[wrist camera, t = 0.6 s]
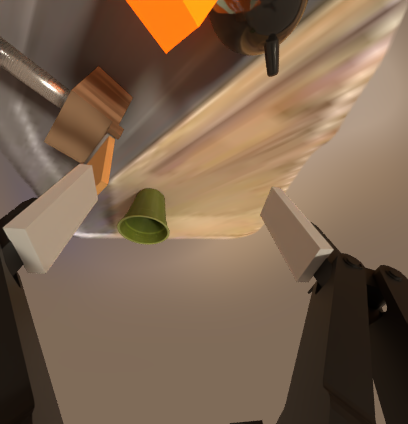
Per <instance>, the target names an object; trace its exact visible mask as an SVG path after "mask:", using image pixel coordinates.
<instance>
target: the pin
mask: <svg viewBox="0 0 408 424" xmlns="http://www.w3.org/2000/svg"><path fill="white" fill-rule="evenodd" d="M0 67H2V68H3V69H4V70H6V71H7V72H9V73H10V74H12V75H13V76H14V77H16V78H17V79H19V80H20V81H22V82H23V83H24V84H26V85H27V86H29V87H30V88H31V89H33V90H34V91H36V92H37V93H39V94H40V95H41V96H43V97H44V98H46V99H47V100H49V101H50V102H51V103H53V104H54V105H56V106H57V107H58V108H60V109H62V107H63V105H64V103H65V102H66V100H67V98H68V96H69V94H70V92H71V91H70V90H69V89H67V88H66V87H65V86H64V85H62V84H61V83H60V82H58V81H57V80H56V79H55V78H53V77H52V76H51V75H49V74H48V73H47V72H46V71H44V70H43V69H42V68H40V67H39V66H38V65H37V64H35V63H34V62H33V61H31V60H30V59H29V58H27V57H26V56H25V55H24V54H22V53H21V52H20V51H18V50H17V49H16V48H15V47H13V46H12V45H11V44H9V43H8V42H7V41H6V40H4V39H3V38H2V37H0Z"/></svg>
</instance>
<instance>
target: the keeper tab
mask: <svg viewBox="0 0 408 424" xmlns="http://www.w3.org/2000/svg"><path fill="white" fill-rule="evenodd" d="M114 142H115V137H114V136H112V135H111V134H110V133H108V132H107V133H106V135H105V136H104V137H103V139H102V140H101V141H100V142H99V144H98V145H97V146H96V148H95V149H94V150H93V152H92V153H91V154H90V156H89V157H88V158H87V159H86V161H85V162H84V163H83V164H86V165H92V168H93V174H94V180H95V186H96V191H97V195H98V194H99V193H100V192H101V191H102V190H103V189H104V188H105V187H106V186H107V185H108V182H109V175H110V169H111V162H112V155H113V149H114Z"/></svg>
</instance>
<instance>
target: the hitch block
mask: <svg viewBox="0 0 408 424" xmlns="http://www.w3.org/2000/svg"><path fill="white" fill-rule="evenodd" d="M132 99H133V97H132V96H131V95H129V94H128V93H127V92H126V91H125V90H124V89H123V88H122V87H121V86H120V85H119V84H118V83H116V82H115V81H114V80H113V79H112V78H111V77H110V76H109V75H108V74H107V73H106V72H105V71H103V70H102V69H101V68H100V67H99V66H98V67H97V68H96V69H95V70H94V71H93V72H91V73H90V74H89V75H88V76H87V77H86V78H85V79H83V80H82V81H81V82H80V83H79V84H78V85H77V86H76V87H74V88H73V89H72V90H71V92H70V94H69V96H68V98H67V100H66V102H65V103H64V105H63V107H62V109H61V111H60V113H59V115H58V117H57V118H56V120H55V122H54V124H53V126H52V128H51V130H50V132H49V133H48V135H47V137H46V139H45V141H44V142H45V143H47V144H49V145H50V146H52V147H54V148H55V149H57V150H59V151H61V152H62V153H64V154H66V155H67V156H69V157H71V158H73V159H74V160H76V161H78V162H79V163H81V164H83V163H84V162H85V161H86V159H87V158H88V157H89V156H90V154H91V153H92V152H93V150H94V149H95V148H96V146H97V145H98V144H99V142H100V141H101V140H102V139H103V137H104V136H105V135H106V133H107V132H108V133H110V134H111V135H112V136H114V137H115V138H116V139H119V138H120V136H121V135H122V132H123V130H124V129H123V128H122V127H120V126H119V123H120V121H121V119H122V118H123V116H124V114H125V112H126V110H127V108H128V106H129V104H130V102H131V100H132Z"/></svg>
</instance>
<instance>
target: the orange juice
mask: <svg viewBox="0 0 408 424" xmlns="http://www.w3.org/2000/svg"><path fill="white" fill-rule="evenodd" d="M126 1H127V2H128V4H129V5H130V6H131V8H132V9H133V10H134V12H135V13H136V14H137V16H138V17H139V18H140V20H141V21H142V22H143V24H144V25H145V26H146V28H147V29H148V30H149V32H150V33H151V35H152V36H153V37H154V39H155V40H156V41H157V43H158V44H159V45H160V47H161V48H162V49H163V51H164V52H165V53H166V54H167V53H168V52H169V51H170V50H171V49H172V48H173V47H174V46H176V45H177V44H178V43H179V42H181V41H182V40H183V39H184V38H186V37H187V36H188V35H189V34H190V33H192V32H193V31H194V30H195V29H197V28H198V27H199V26H200V25H201V23H202V22H203V20H204V19H205V18H206V16H207V15H208V13H209V12H210V10H211V9H212V7H213V6H214V5H215V3H216V2H217V0H126Z"/></svg>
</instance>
